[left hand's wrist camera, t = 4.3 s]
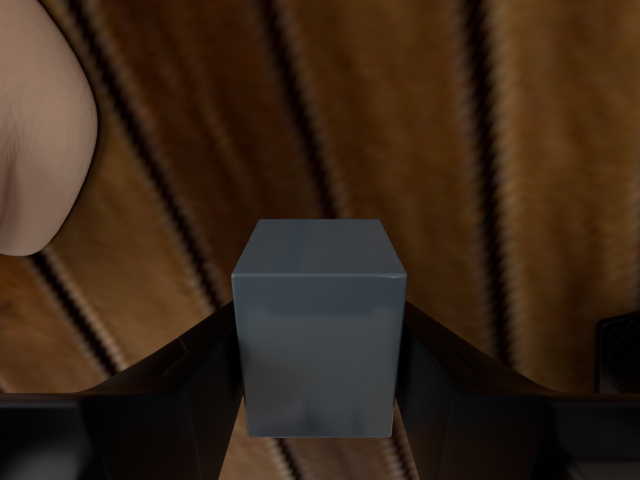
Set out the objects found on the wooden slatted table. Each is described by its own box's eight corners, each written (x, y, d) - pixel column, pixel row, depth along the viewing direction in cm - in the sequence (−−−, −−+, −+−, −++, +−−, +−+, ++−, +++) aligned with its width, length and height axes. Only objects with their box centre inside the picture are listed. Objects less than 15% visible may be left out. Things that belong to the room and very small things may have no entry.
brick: (380, 218, 12) (409, 274, 8) (371, 345, 13) (391, 439, 10) (258, 218, 12) (229, 274, 8) (267, 345, 13) (247, 439, 10)
